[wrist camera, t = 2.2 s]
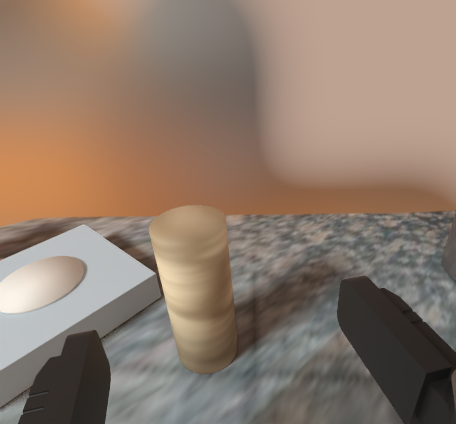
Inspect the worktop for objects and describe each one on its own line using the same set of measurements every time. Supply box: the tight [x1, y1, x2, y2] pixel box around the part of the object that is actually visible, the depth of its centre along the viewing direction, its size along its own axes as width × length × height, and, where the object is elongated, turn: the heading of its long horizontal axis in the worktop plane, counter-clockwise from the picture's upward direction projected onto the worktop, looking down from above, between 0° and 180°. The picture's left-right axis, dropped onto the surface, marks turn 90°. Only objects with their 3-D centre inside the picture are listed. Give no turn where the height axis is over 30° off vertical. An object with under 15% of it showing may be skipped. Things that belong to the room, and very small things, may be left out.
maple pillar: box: [149, 205, 238, 374], centre depth 23 cm, size 5×5×12 cm
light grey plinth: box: [0, 224, 161, 407], centre depth 31 cm, size 16×16×3 cm
